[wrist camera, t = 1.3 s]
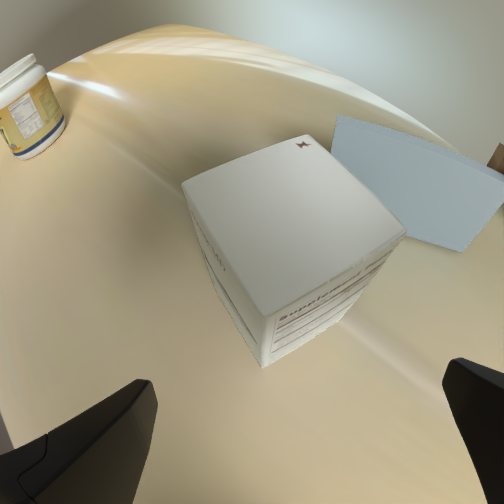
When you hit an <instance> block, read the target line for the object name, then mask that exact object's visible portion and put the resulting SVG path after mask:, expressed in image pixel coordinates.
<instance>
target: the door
mask: <svg viewBox="0 0 504 504" xmlns="http://www.w3.org/2000/svg"><path fill="white" fill-rule="evenodd" d="M330 153H331V154H332V155H333V156H334V157H335V158H336V159H338V160H339V161H340V162H341V163H342V164H343V165H344V166H345V167H347V168H348V169H349V170H350V171H351V172H352V173H353V174H355V176H356V177H357V178H358V179H359V180H360V181H361V182H362V183H363V184H364V185H366V186H367V187H368V188H369V189H370V190H371V191H372V192H373V193H374V194H375V195H376V196H377V197H378V198H379V199H380V200H381V201H382V202H383V203H384V204H385V206H386V207H387V208H388V209H389V210H391V211H392V212H393V213H394V215H395V216H396V217H397V218H398V219H399V220H400V221H401V222H402V223H403V224H404V226H405V227H406V229H407V233H406V236H409V237H413V238H416V239H419V240H423V241H426V242H429V243H433V244H436V245H439V246H442V247H445V248H448V249H452V250H455V251H458V252H462V251H463V250H464V249H465V248H466V247H467V246H468V245H469V244H470V242H471V241H472V240H473V239H474V238H475V237H476V236H477V234H478V233H479V232H480V231H481V230H482V229H483V227H484V226H485V225H486V224H487V223H488V221H489V220H490V219H491V218H492V216H493V215H494V214H495V213H496V211H497V210H498V209H499V207H500V206H501V205H502V204H503V202H504V175H503V174H501V173H499V172H497V171H495V170H493V169H491V168H489V167H487V166H485V165H483V164H481V163H479V162H476V161H474V160H472V159H470V158H468V157H466V156H463V155H461V154H459V153H456V152H454V151H452V150H449V149H447V148H444V147H442V146H439V145H437V144H434V143H431V142H429V141H426V140H423V139H420V138H418V137H415V136H412V135H409V134H406V133H403V132H400V131H397V130H393V129H390V128H387V127H384V126H380V125H377V124H373V123H370V122H366V121H362V120H358V119H354V118H350V117H346V116H342V115H337V120H336V126H335V131H334V136H333V142H332V147H331V152H330Z"/></svg>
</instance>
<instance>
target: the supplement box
mask: <svg viewBox="0 0 504 504" xmlns="http://www.w3.org/2000/svg"><path fill="white" fill-rule="evenodd" d="M181 186H182V189H183V192H184V195H185V198H186V201H187V205H188V208H189V211H190V214H191V217H192V221H193V224H194V227H195V230H196V233H197V236H198V239H199V242H200V245H201V249H202V252H203V255H204V258H205V261H206V264H207V267H208V270H209V273H210V276H211V279H212V282H213V284H214V287H215V290H216V292H217V295H218V296H219V298H220V299H221V301H222V302H223V304H224V305H225V307H226V309H227V310H228V312H229V314H230V315H231V317H232V319H233V321H234V322H235V324H236V326H237V327H238V329H239V331H240V333H241V334H242V336H243V338H244V339H245V341H246V343H247V344H248V346H249V348H250V349H251V351H252V353H253V354H254V356H255V358H256V360H257V361H258V363H259V365H260V367H261V368H265V367H267V366H268V365H270V364H272V363H273V362H275V361H277V360H278V359H280V358H282V357H283V356H285V355H287V354H288V353H290V352H292V351H293V350H295V349H296V348H298V347H300V346H301V345H303V344H304V343H306V342H308V341H309V340H311V339H312V338H314V337H315V336H317V335H318V334H320V333H321V332H323V331H324V330H326V329H327V328H329V327H330V326H332V325H333V324H335V323H336V322H338V321H339V320H340V319H341V318H342V317H343V315H344V314H345V313H346V312H347V311H348V310H349V309H350V307H351V306H352V305H353V304H354V302H355V301H356V300H357V299H358V297H359V296H360V295H361V294H362V292H363V291H364V290H365V289H366V287H367V286H368V284H369V283H370V282H371V280H372V279H373V278H374V276H375V275H376V274H377V272H378V271H379V269H380V268H381V267H382V265H383V264H384V263H385V261H386V260H387V258H388V257H389V256H390V254H391V253H392V252H393V250H394V249H395V248H396V246H397V245H398V244H399V243H400V241H401V240H402V239H403V238H404V236H405V235H406V233H407V229H406V227H405V226H404V224H403V223H402V222H401V221H400V220H399V219H398V218H397V217H396V216H395V215H394V213H393V212H392V211H391V210H389V209H388V208H387V207H386V206H385V204H384V203H383V202H382V201H381V200H380V199H379V198H378V197H377V196H376V195H375V194H374V193H373V192H372V191H371V190H370V189H369V188H368V187H367V186H366V185H364V184H363V183H362V182H361V181H360V180H359V179H358V178H357V177H356V176H355V174H353V173H352V172H351V171H350V170H349V169H348V168H347V167H345V166H344V165H343V164H342V163H341V162H340V161H339V160H338V159H336V158H335V157H334V156H333V155H332V154H331V153H329V152H328V151H327V150H326V149H325V148H324V147H323V146H321V145H320V144H319V143H318V142H317V141H315V140H314V139H313V138H312V137H311V136H310V135H308V134H306V135H302V136H299V137H295V138H292V139H289V140H286V141H283V142H280V143H277V144H274V145H271V146H268V147H266V148H263V149H260V150H257V151H255V152H252V153H250V154H247V155H245V156H242V157H239V158H237V159H234V160H232V161H229V162H227V163H224V164H222V165H219V166H217V167H215V168H212V169H210V170H207V171H205V172H202V173H200V174H198V175H196V176H193V177H192V178H190V179H188V180H186V181H184V182H182V184H181Z"/></svg>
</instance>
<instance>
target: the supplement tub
mask: <svg viewBox="0 0 504 504" xmlns="http://www.w3.org/2000/svg"><path fill="white" fill-rule="evenodd" d="M35 64H36V59H35V57H34V54H30V55H28V56H26V57H24V58H22V59H21V60H19V61H17V62H16V63H14V64H13V65H11V66H10V67H9V68H7V69H6V70H4V71H3V72H2V73H0V132H1V134H2V136H3V137H4V139H5V141H6V142H7V144H8V146H9V147H10V149H11V151H12V152H13V154H14V156H15V157H16V158H17V159H20V160H27V159H30V158H32V157H34V156H36V155H38V154H39V153H41V152H42V151H44V150H45V149H46V148H48V147H49V146H50V145H51V144H52V143H53V142H54V141H55V140H56V139H57V138H58V137H59V136H60V135H61V133H62V131H63V130H64V127H65V123H66V121H65V116H64V115H63V113H62V110H61V108H60V106H59V104H58V102H57V99H56V97H55V95H54V92H53V90H52V87H51V85H50V82H49V80H48V77H47V75H46V72H45V69H44V68H43V67H42V66H41V65H35Z"/></svg>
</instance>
